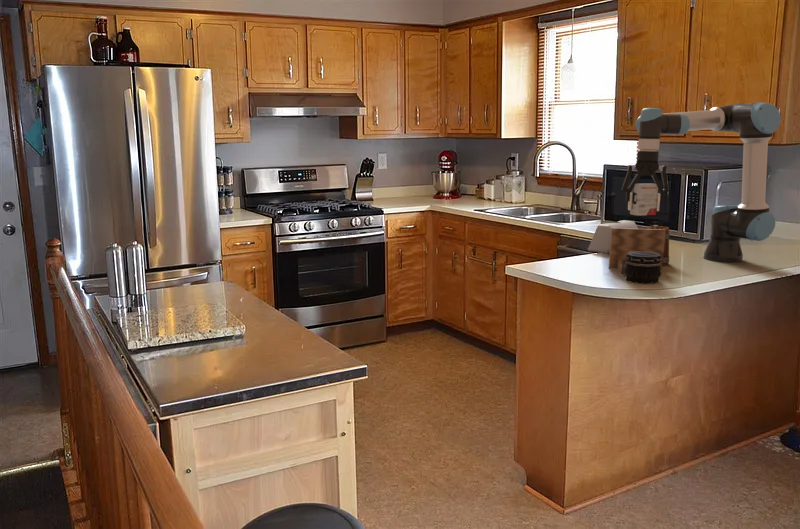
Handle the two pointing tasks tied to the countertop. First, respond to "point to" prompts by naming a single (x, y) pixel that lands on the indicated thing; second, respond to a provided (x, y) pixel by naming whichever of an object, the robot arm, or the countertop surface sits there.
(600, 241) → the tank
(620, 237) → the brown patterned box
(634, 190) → the ink box
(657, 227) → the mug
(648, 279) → the container
